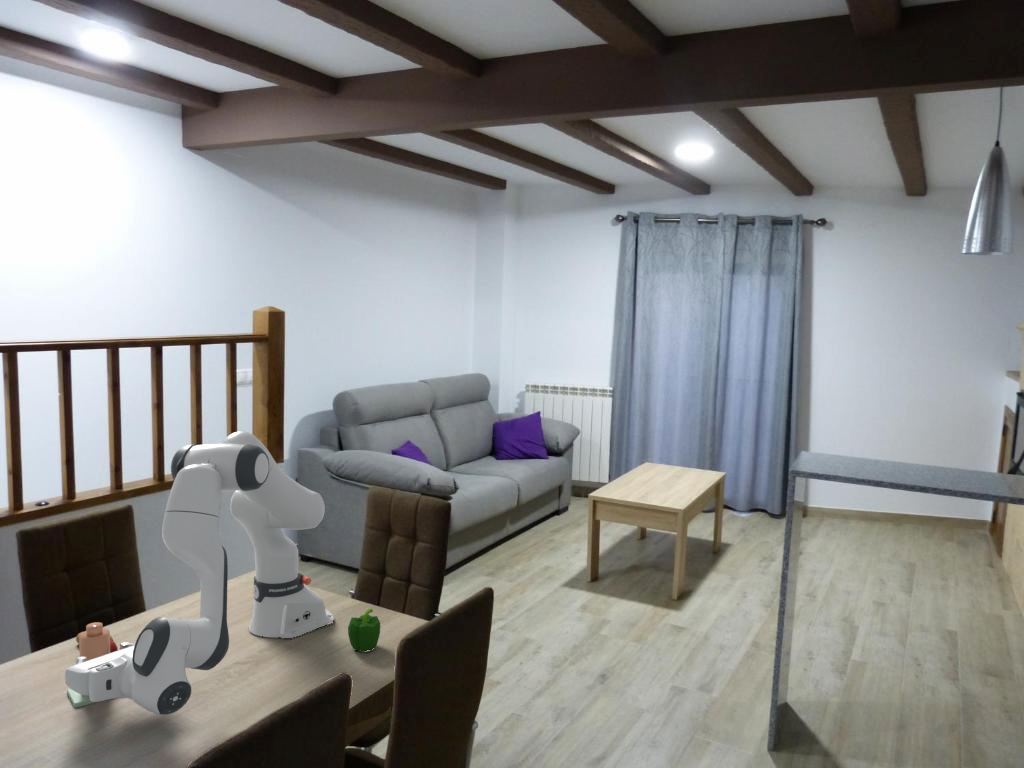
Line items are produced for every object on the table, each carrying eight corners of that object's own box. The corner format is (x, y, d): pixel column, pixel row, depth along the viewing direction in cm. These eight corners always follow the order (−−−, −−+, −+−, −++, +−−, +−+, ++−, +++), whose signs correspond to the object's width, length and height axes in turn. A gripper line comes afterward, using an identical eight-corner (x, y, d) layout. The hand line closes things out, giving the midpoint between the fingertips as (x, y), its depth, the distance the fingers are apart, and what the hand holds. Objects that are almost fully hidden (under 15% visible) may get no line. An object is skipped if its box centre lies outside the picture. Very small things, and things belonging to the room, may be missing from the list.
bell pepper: (359, 659, 200) (360, 621, 199) (342, 647, 206) (343, 610, 205) (387, 650, 206) (388, 613, 205) (370, 638, 212) (371, 602, 211)
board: (161, 669, 191) (161, 665, 190) (171, 681, 185) (171, 677, 185) (67, 693, 178) (67, 689, 178) (74, 707, 172) (74, 703, 172)
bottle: (110, 680, 182) (109, 618, 180) (111, 693, 177) (109, 628, 175) (80, 686, 179) (79, 622, 177) (80, 698, 174) (78, 632, 172)
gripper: (180, 642, 175) (147, 624, 183) (84, 675, 158) (52, 654, 167) (180, 670, 175) (147, 651, 184) (84, 705, 159) (53, 683, 167)
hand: (101, 652), depth 175 cm, fingers open, 8 cm apart
